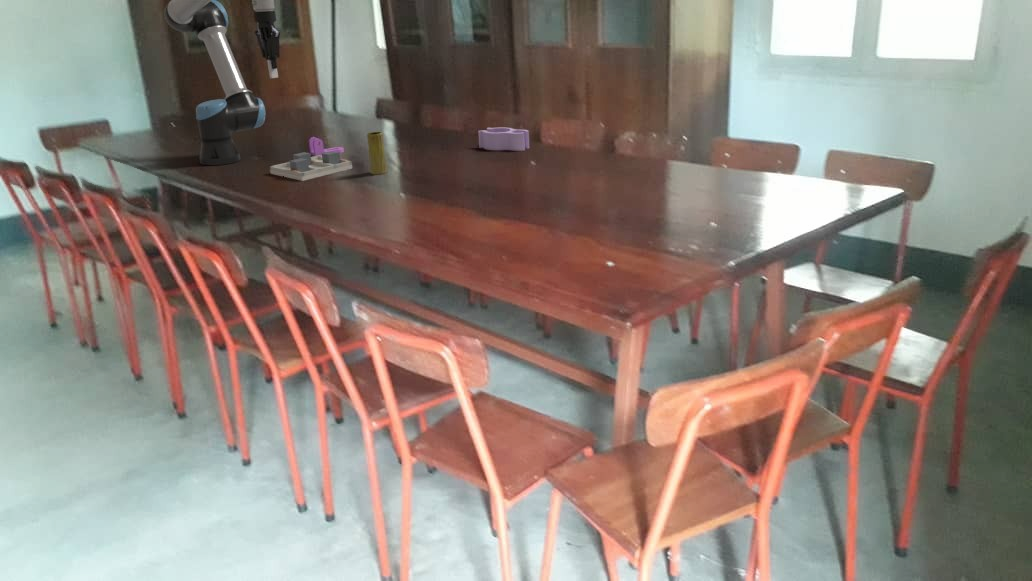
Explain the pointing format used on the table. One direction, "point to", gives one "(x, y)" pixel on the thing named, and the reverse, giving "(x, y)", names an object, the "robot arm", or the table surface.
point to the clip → (504, 139)
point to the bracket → (321, 147)
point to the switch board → (311, 169)
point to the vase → (376, 153)
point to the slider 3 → (331, 157)
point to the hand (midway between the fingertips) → (274, 77)
